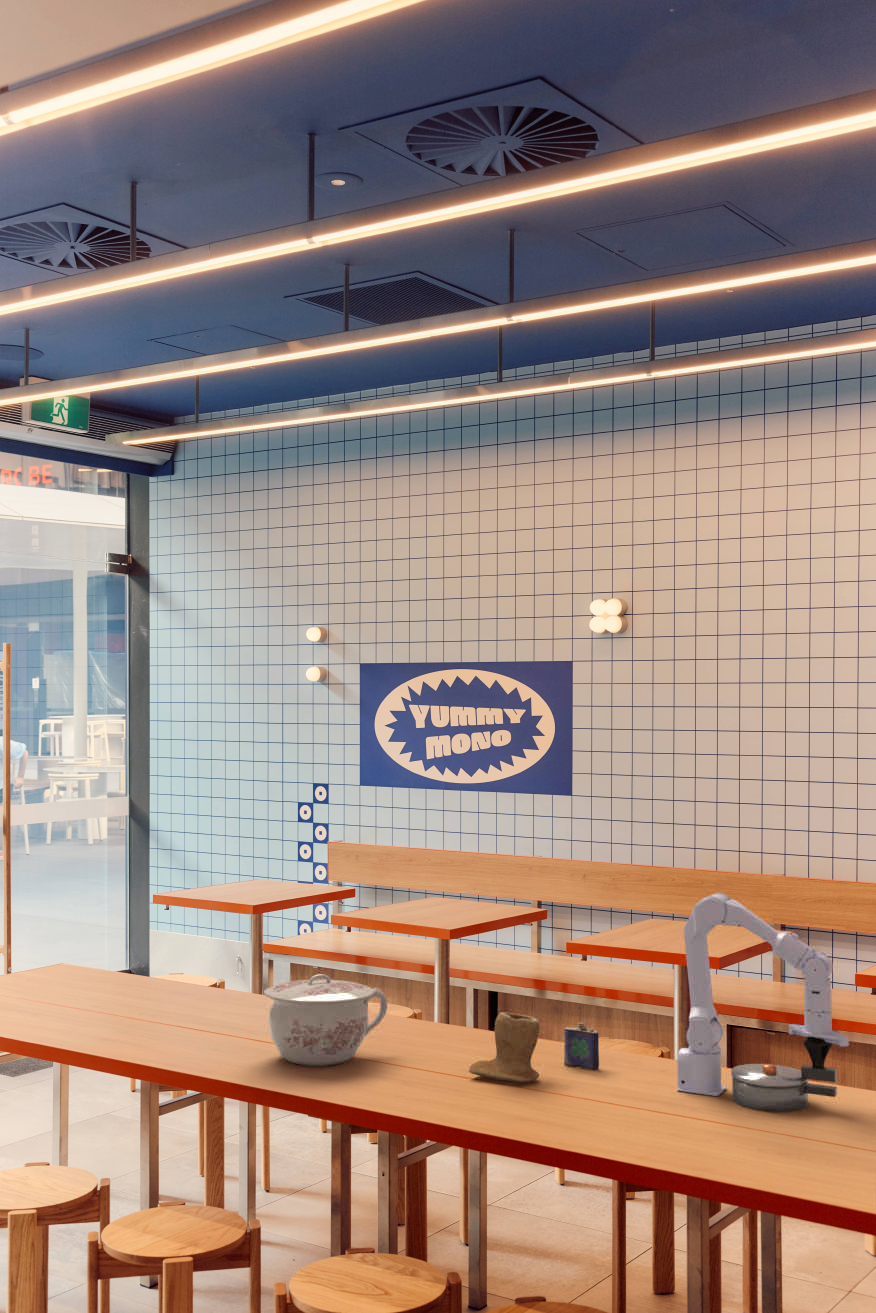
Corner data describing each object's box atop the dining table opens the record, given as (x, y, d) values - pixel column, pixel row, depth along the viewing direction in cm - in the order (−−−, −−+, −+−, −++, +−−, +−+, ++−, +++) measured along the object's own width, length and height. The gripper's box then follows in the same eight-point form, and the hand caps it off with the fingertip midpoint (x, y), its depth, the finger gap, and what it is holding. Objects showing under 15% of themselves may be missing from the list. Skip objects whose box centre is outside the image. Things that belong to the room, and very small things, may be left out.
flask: (562, 1065, 298) (562, 1020, 299) (568, 1063, 300) (568, 1018, 301) (596, 1071, 292) (596, 1025, 293) (601, 1069, 295) (601, 1023, 296)
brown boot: (548, 1077, 286) (549, 1012, 287) (525, 1089, 275) (526, 1021, 277) (491, 1068, 293) (492, 1005, 295) (467, 1079, 283) (468, 1013, 285)
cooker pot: (724, 1105, 264) (724, 1081, 264) (742, 1088, 278) (742, 1066, 278) (829, 1120, 254) (829, 1095, 254) (842, 1102, 268) (842, 1078, 268)
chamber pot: (242, 1068, 291) (244, 979, 293) (289, 1043, 317) (291, 962, 319) (352, 1078, 283) (353, 987, 284) (390, 1052, 309) (392, 969, 311)
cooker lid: (723, 1081, 264) (723, 1065, 264) (740, 1065, 279) (740, 1049, 279) (829, 1094, 254) (829, 1078, 255) (841, 1077, 269) (841, 1061, 269)
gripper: (779, 1006, 271) (779, 1068, 270) (833, 1018, 259) (834, 1083, 258) (800, 1003, 275) (800, 1064, 274) (854, 1014, 263) (855, 1079, 262)
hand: (818, 1073), depth 266 cm, fingers closed, pressing on cooker lid
